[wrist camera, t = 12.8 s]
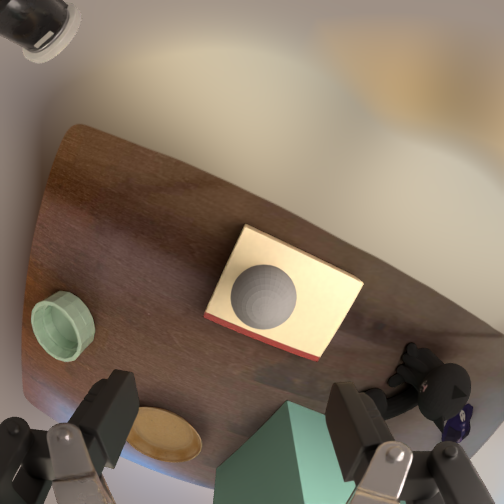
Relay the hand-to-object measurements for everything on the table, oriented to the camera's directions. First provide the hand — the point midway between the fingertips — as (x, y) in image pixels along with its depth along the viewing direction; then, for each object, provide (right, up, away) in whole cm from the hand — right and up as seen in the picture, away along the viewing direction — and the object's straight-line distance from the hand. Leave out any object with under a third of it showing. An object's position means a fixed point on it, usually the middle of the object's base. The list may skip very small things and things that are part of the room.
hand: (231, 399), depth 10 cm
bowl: (-27, -5, +27) cm, 39 cm away
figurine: (+26, -15, +30) cm, 43 cm away
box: (+9, -32, +33) cm, 47 cm away
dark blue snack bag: (+49, -35, +34) cm, 69 cm away
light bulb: (+2, +3, +23) cm, 23 cm away
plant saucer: (-15, -25, +32) cm, 43 cm away
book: (+5, +1, +27) cm, 27 cm away
